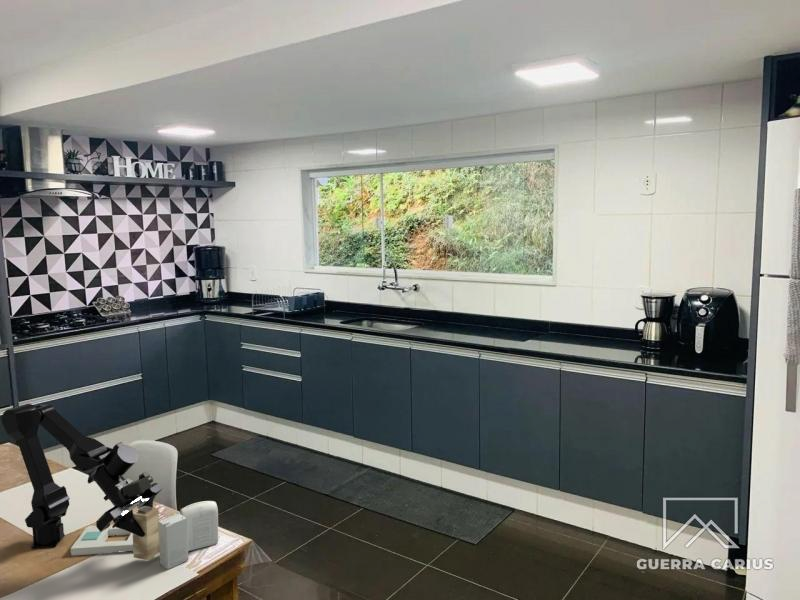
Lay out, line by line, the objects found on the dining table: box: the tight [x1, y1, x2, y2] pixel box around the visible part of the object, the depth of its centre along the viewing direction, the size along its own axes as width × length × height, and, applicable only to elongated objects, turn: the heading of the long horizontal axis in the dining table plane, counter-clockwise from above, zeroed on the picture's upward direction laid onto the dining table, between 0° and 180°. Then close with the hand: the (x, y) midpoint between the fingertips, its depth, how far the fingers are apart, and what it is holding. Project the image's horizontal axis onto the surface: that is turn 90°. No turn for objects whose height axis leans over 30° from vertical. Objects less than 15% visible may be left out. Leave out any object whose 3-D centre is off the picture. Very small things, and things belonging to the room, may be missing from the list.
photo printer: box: [179, 500, 219, 552], centre depth 164 cm, size 10×4×12 cm, turn 123°
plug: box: [132, 506, 160, 561], centre depth 155 cm, size 4×4×13 cm
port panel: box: [70, 524, 133, 556], centre depth 166 cm, size 20×12×2 cm, turn 98°
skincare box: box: [158, 513, 190, 570], centre depth 155 cm, size 6×4×12 cm
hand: (150, 531), depth 155 cm, fingers closed on plug, 4 cm apart
